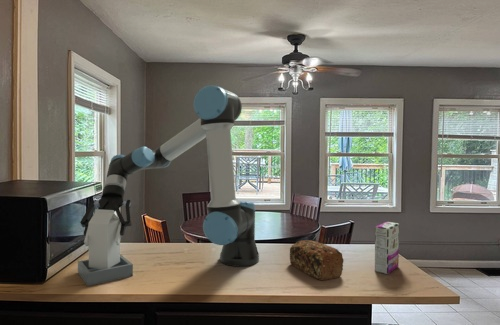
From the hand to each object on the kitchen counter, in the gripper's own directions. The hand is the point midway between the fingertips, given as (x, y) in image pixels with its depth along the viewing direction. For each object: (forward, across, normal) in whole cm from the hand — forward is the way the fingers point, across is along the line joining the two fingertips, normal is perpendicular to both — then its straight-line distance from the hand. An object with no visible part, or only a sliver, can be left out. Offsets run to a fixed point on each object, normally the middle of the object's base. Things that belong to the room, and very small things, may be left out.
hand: (101, 243), depth 108 cm
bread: (+9, -73, -7) cm, 74 cm away
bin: (+6, 0, -10) cm, 12 cm away
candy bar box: (+11, -99, -5) cm, 100 cm away
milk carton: (+4, 0, -8) cm, 9 cm away
